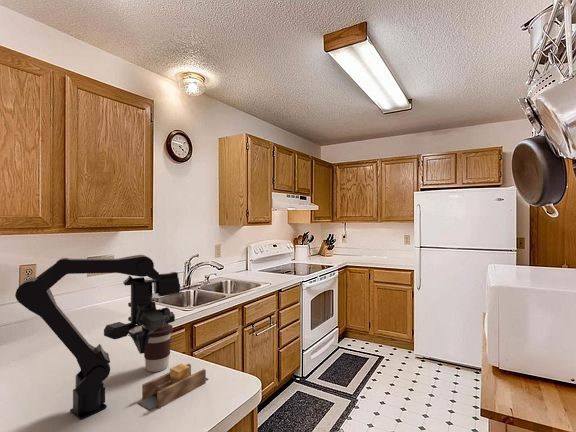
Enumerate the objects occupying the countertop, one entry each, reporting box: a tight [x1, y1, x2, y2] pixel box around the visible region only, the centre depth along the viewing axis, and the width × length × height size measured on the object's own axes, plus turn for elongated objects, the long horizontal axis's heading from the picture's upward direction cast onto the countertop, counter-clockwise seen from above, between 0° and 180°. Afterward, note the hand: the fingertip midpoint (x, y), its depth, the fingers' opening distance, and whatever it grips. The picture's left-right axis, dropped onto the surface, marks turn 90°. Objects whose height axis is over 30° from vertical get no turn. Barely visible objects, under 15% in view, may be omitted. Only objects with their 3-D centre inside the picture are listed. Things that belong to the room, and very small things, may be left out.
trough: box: [137, 363, 209, 411], centre depth 95 cm, size 20×8×4 cm, turn 146°
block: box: [169, 363, 190, 384], centre depth 96 cm, size 4×4×4 cm
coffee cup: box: [143, 322, 174, 373], centre depth 110 cm, size 10×10×15 cm
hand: (141, 353), depth 93 cm, fingers closed
